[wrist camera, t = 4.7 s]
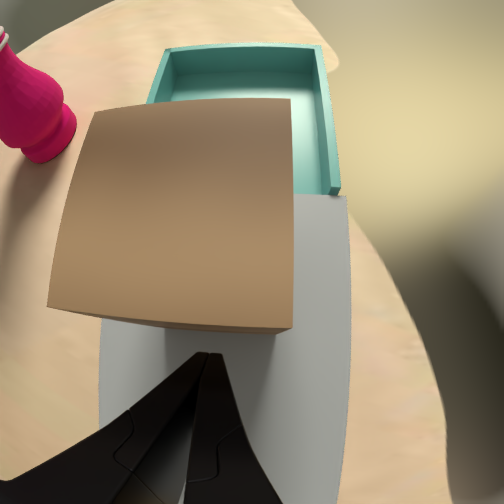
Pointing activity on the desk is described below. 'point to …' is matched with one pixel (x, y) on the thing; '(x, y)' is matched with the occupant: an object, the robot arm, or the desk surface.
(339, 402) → the plate
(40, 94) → the pepper mill
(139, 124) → the brick
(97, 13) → the desk surface
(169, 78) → the tray
